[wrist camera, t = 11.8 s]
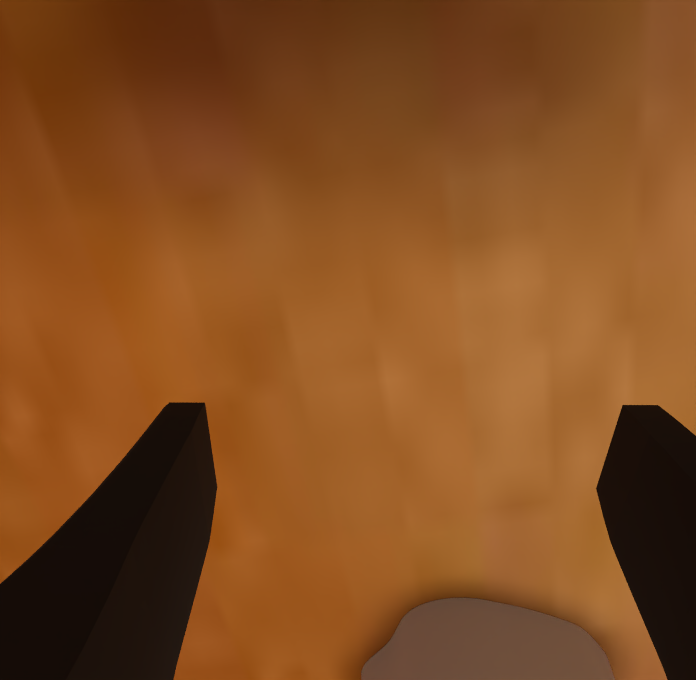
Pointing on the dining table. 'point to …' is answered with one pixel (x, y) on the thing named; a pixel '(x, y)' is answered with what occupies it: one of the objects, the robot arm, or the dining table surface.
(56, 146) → the dining table surface
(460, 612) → the lumpy-topped squat cylinder
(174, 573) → the robot arm
